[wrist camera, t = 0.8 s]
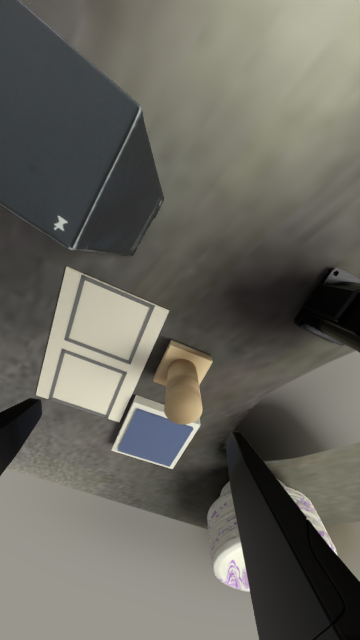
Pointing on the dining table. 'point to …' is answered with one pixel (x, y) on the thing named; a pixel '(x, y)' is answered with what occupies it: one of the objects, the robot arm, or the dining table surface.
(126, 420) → the ink pad
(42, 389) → the print sheet
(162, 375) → the stamp
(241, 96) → the dining table surface
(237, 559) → the paper bowls
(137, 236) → the small box
